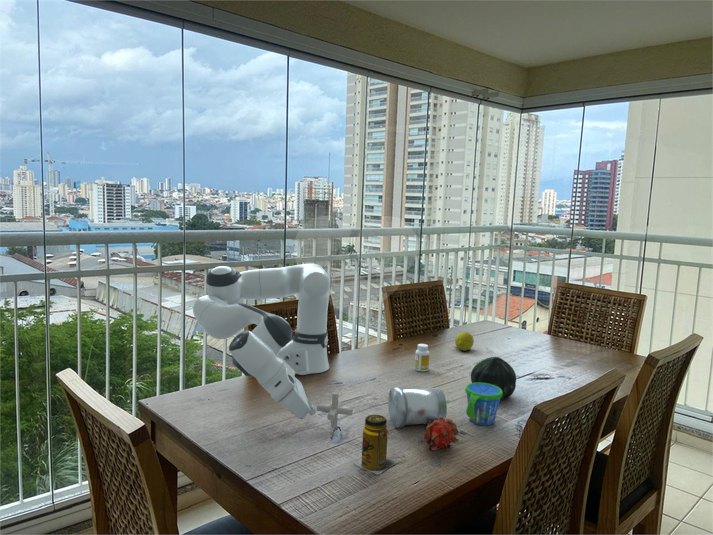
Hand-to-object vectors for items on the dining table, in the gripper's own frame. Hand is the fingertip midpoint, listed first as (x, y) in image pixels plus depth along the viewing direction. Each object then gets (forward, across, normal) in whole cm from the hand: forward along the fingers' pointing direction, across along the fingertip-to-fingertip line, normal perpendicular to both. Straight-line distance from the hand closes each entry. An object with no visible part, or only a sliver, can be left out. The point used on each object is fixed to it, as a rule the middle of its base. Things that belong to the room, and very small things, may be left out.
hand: (313, 411), depth 146 cm
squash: (+49, -18, +42) cm, 67 cm away
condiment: (+12, +21, +5) cm, 25 cm away
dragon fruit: (+26, +16, +19) cm, 36 cm away
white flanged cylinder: (+25, 0, +18) cm, 31 cm away
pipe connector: (+8, 0, +1) cm, 8 cm away
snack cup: (+39, +1, +32) cm, 51 cm away
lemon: (+58, -71, +51) cm, 105 cm away
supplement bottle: (+38, -47, +31) cm, 68 cm away
